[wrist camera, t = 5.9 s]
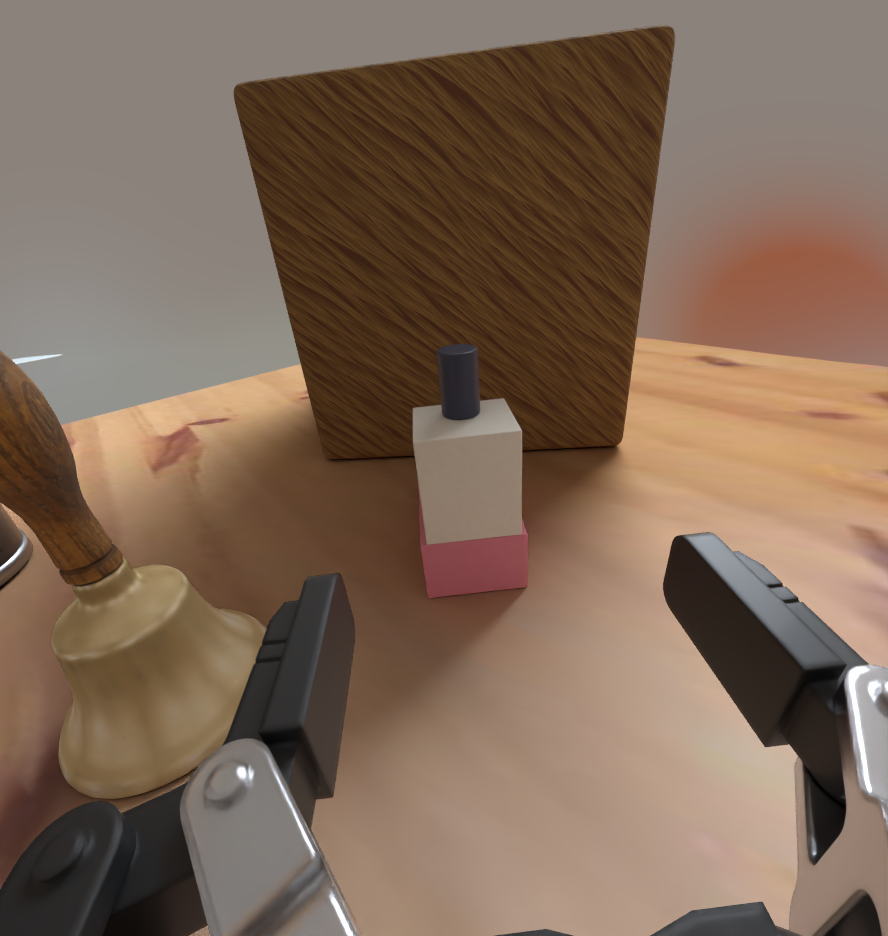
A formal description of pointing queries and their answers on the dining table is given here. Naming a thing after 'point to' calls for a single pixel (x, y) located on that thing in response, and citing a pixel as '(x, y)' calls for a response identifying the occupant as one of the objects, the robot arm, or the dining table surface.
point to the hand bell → (120, 624)
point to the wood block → (465, 230)
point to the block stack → (469, 484)
